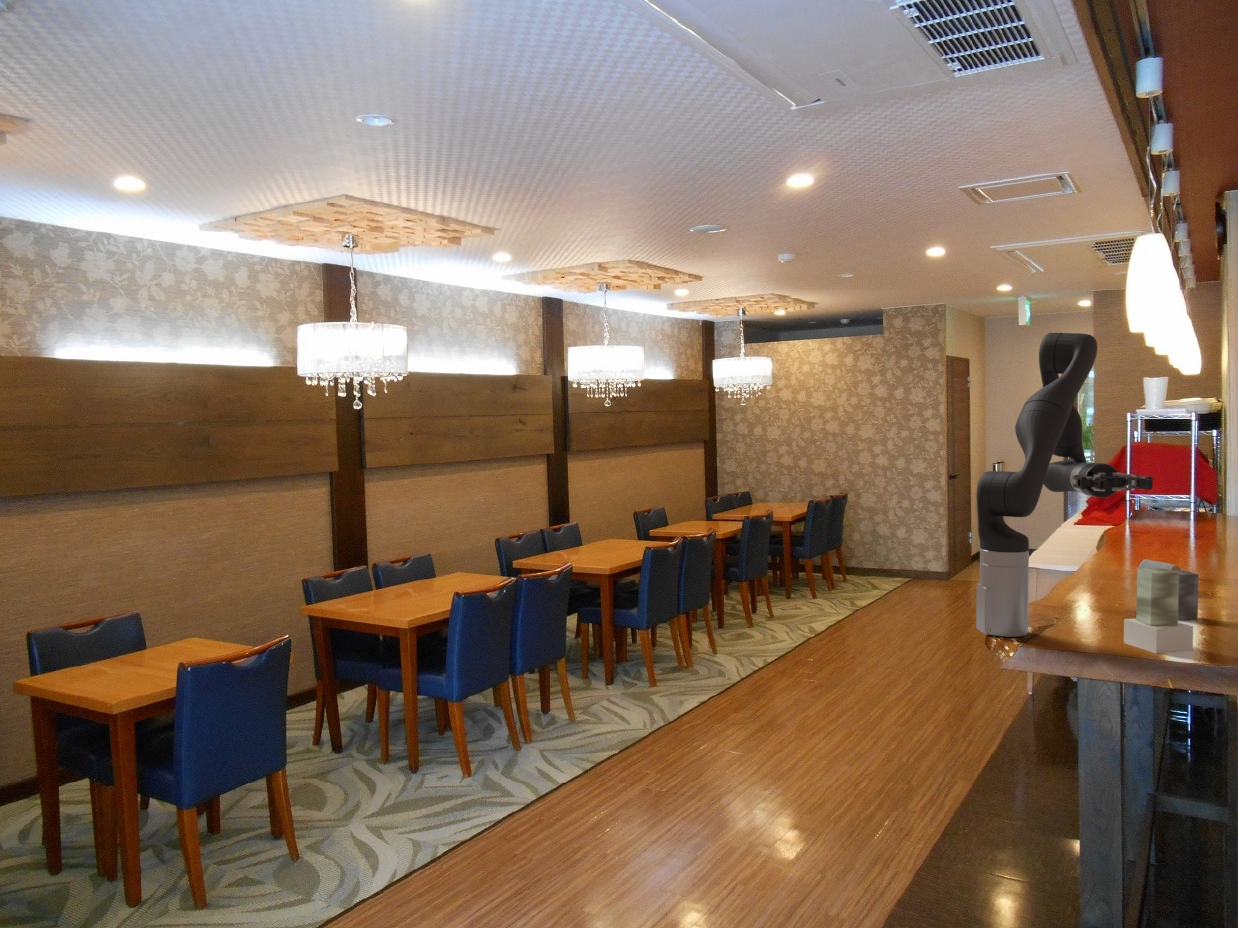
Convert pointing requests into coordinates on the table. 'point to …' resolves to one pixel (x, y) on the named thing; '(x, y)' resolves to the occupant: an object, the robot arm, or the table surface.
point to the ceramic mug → (1158, 565)
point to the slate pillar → (1187, 595)
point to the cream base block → (1158, 636)
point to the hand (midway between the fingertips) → (1127, 484)
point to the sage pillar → (1157, 596)
